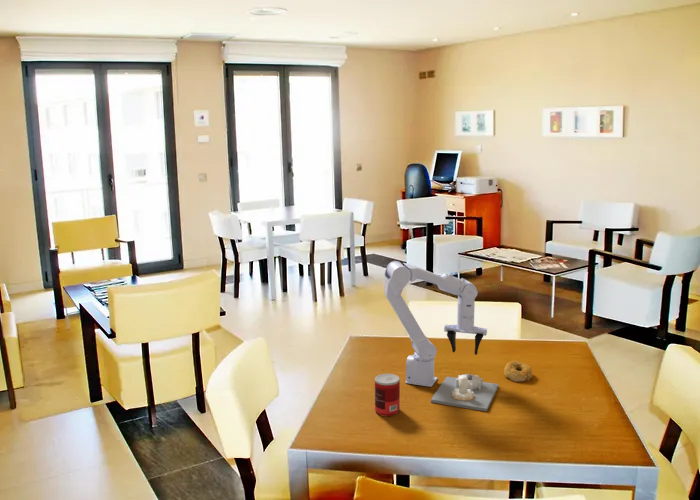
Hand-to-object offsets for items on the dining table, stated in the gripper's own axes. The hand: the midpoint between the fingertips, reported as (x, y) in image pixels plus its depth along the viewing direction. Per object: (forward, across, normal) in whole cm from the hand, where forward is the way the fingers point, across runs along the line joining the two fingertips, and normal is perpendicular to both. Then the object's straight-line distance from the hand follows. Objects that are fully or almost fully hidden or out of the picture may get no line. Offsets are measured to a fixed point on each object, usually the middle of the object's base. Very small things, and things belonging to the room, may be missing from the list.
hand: (464, 352), depth 226 cm
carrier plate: (+9, +3, -14) cm, 17 cm away
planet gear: (+8, +2, -17) cm, 19 cm away
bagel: (+10, +18, +7) cm, 22 cm away
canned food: (+10, -19, -33) cm, 39 cm away
